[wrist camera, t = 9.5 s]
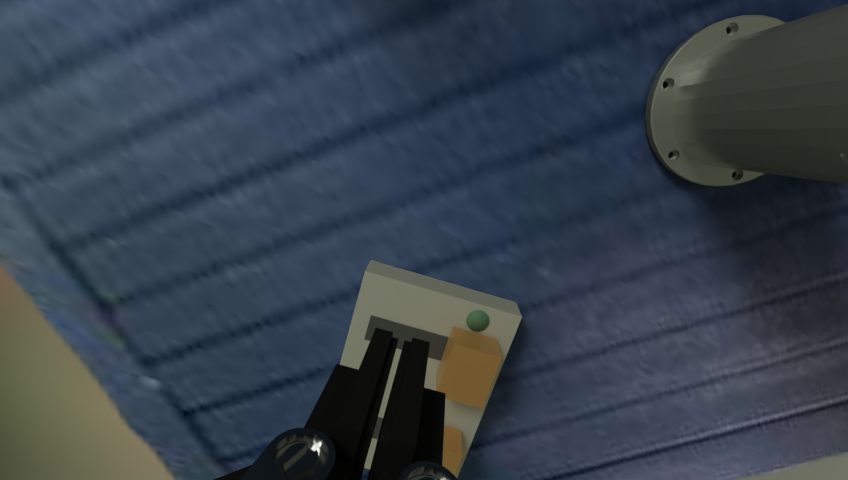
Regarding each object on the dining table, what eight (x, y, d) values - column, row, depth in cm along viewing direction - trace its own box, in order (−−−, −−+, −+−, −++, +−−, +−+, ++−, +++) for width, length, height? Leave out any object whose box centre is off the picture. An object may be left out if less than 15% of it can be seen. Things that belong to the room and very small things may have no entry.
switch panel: (515, 302, 37) (522, 317, 34) (451, 466, 42) (451, 492, 39) (371, 259, 36) (364, 271, 33) (324, 432, 42) (315, 455, 39)
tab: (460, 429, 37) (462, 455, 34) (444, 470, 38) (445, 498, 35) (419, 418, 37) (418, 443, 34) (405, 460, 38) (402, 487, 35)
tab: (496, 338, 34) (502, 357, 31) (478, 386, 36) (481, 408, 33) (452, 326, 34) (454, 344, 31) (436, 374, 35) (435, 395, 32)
